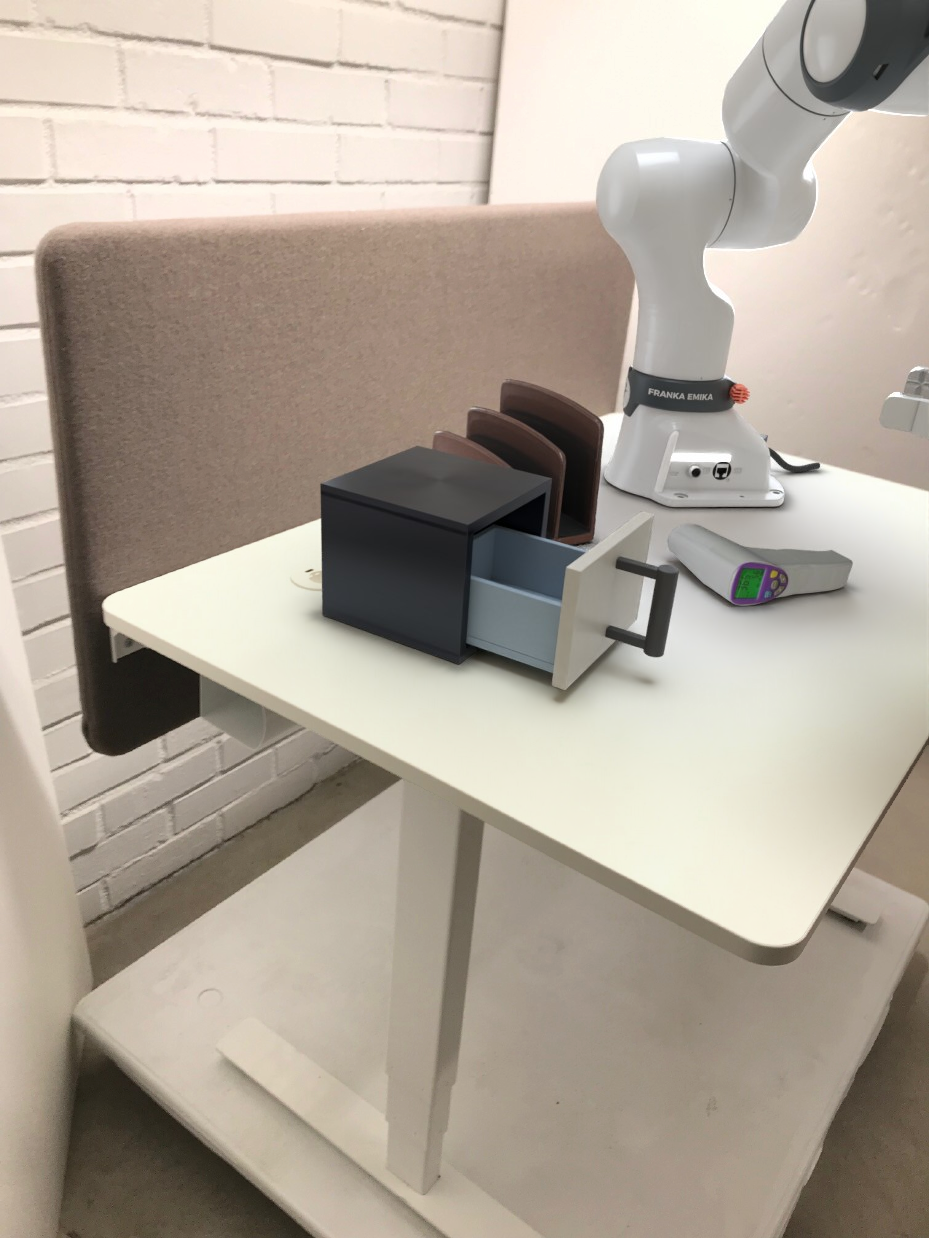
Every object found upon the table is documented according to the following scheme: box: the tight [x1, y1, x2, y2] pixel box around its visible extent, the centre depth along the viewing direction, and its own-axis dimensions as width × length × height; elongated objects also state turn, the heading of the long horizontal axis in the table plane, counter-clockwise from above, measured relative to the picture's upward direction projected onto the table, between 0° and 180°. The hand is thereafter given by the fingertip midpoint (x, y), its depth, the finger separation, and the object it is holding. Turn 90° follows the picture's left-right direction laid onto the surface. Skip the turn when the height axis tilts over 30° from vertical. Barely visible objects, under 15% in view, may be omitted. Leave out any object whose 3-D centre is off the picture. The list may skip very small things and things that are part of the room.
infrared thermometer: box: [666, 523, 854, 607], centre depth 91 cm, size 5×12×15 cm
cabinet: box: [319, 445, 552, 665], centre depth 78 cm, size 14×14×12 cm
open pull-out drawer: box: [466, 510, 680, 691], centre depth 73 cm, size 19×14×10 cm
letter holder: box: [431, 378, 605, 546], centre depth 99 cm, size 10×20×14 cm, turn 29°
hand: (896, 393), depth 55 cm, fingers open, 8 cm apart
